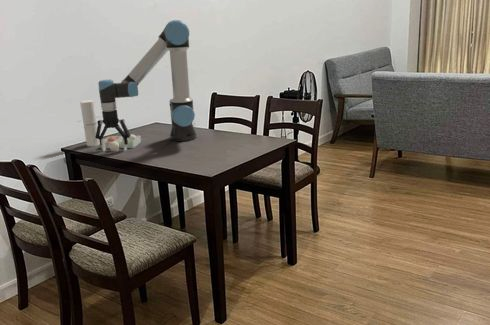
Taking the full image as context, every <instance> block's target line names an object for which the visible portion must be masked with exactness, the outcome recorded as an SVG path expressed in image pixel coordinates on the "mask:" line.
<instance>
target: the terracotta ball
mask: <svg viewBox="0 0 490 325" xmlns="http://www.w3.org/2000/svg"><path fill="white" fill-rule="evenodd" d="M108 137H109V138H108ZM108 137H107V138H108V139H107V142H113V141H115V140H116V138H115V137H113V135H111V136H108Z"/></svg>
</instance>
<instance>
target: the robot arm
mask: <svg viewBox="0 0 490 325" xmlns="http://www.w3.org/2000/svg"><path fill="white" fill-rule="evenodd" d="M189 37H190V29H189V27H188V25H187V24H186V23H185V22H184V21H182V20H179V19H175V20H170V21H168V22H167V24H166V25H165V27H164V28H163V30H162V32H161V33H160V34H159V35H158V39H157V40H156V42H155V43H154V44H153V45H152V46H151V47H150V48H149V50H148V51H147V52H146V53H145V54H144V55H143V56H142V58H141V59H140V60H139V62H137V64H136V65H135V66H134V67H133V69H132V70H130V72H129V73H128V74H127V75H126V77H125V78H123V80H121V82H117V83H114V80H113V79H101V80H99V81H98V82H97V84H98V85H97V86H98V93H99V98H100V99H99V100H100V108H101V114H102V119H99V120H97V126H98V127H97V132H96V137H95V138H96V139H99V140H100V146H101V145H102V149H101V150H102V152H105V151H107V149H106V147H105V138H104V136H105V134H106V132H107V130H108V129H110V128H112V129H114V128H115V130H116V131H117V132H118V133H119V134H120V136H122V137H123V139H122V141H123V148H122V149H123V152H125V151H127V150H128V148H127V146H126V145H127V144H128V141H127V138H129V137H130V135H131V134H130V131H129V130H128V128H127V125H126V123H125V119H124V118H122V119H119V118H118V117H119V116H118V115H119V114H118V110H117V102H116V101H117V99H120V98H134V97H138V96H139V85H140V83H141V82H142V81H143V80H144V79H145V78H146V77H147V75H148V74H150V72H151V71H152V70H153V69H154V67H156V65H157V64H158V63H159V62H160V60H162V59H163V57H164V56H165V55H166V54H167V53H168V51H169V58H170V69H171V70H170V71H171V81H172V82H171V83H172V85H171V86H172V97H173V98H170V100H169V103H168V104H169V109H170V120H171V121H170V122H171V129H170V134H169V139H170V141H172V142H188V141H193V140H195V139H197V136H198V134H197V131H196V128H195V126H194V125H193V122H194V120H195V117H196V114H195V111H194V102H193V101H194V99H193V98H192V97H191V94H190V83H189V82H190V80H189V65H188V53H187V51H188V49H189V48H190V38H189ZM103 124H104V127H103V126H102V125H103ZM119 124H120V125H121V126H120V125H119ZM102 127H103V129H102ZM101 130H102V131H101Z"/></svg>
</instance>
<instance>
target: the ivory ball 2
mask: <svg viewBox="0 0 490 325" xmlns="http://www.w3.org/2000/svg"><path fill="white" fill-rule="evenodd" d="M136 136H137V135H135V134H130V137H129V138H127V139H128V142H129V141H133V140H135V139H136Z"/></svg>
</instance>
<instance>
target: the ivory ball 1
mask: <svg viewBox="0 0 490 325" xmlns="http://www.w3.org/2000/svg"><path fill="white" fill-rule="evenodd" d="M109 147H110V149H109V150H112V151H113V150H118V149H119V150H120V146H119V144H118V143H117V142H115V141H113V142H111V143H110V145H109ZM119 150H118V151H119Z"/></svg>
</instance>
